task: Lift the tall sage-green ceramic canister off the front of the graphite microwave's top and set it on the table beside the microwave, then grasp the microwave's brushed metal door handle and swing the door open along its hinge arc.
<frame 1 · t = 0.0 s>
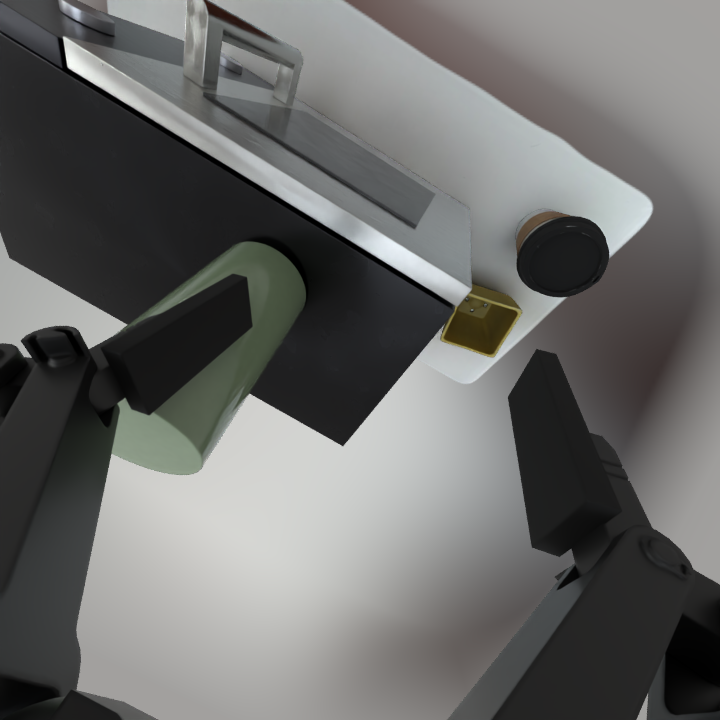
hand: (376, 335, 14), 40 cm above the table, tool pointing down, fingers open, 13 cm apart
coffee cup: (538, 231, 43), on the table
microwave: (322, 213, 50), on the table
canister: (263, 285, 24), point 31 cm above the table, tilted 8°, touching microwave
microwave door: (356, 139, 30), point 15 cm above the table, hinge at 0.0°
flower pot: (477, 301, 51), on the table
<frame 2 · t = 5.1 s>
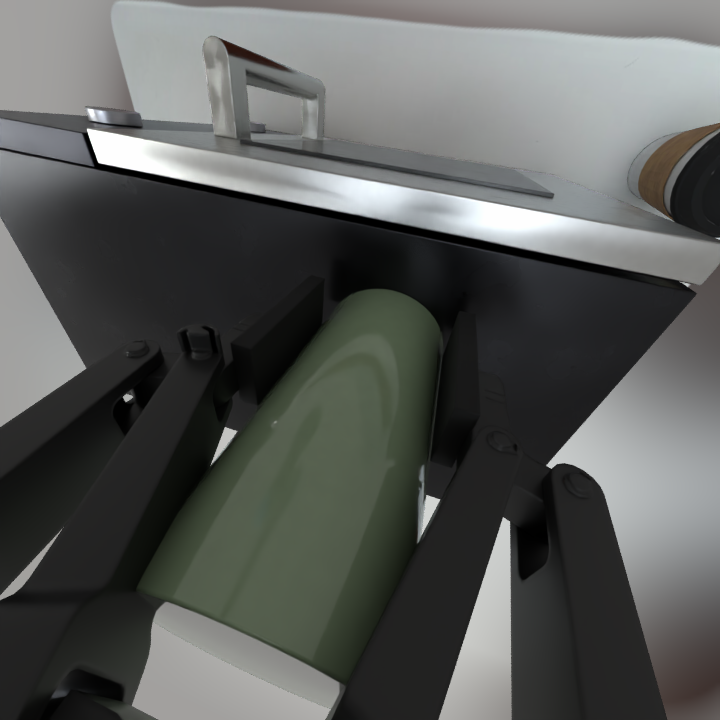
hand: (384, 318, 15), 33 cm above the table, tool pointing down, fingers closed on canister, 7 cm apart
coffee cup: (661, 167, 32), on the table
microwave: (373, 242, 45), on the table
canister: (382, 344, 18), point 31 cm above the table, touching gripper, microwave
microwave door: (413, 135, 24), point 15 cm above the table, hinge at 0.0°
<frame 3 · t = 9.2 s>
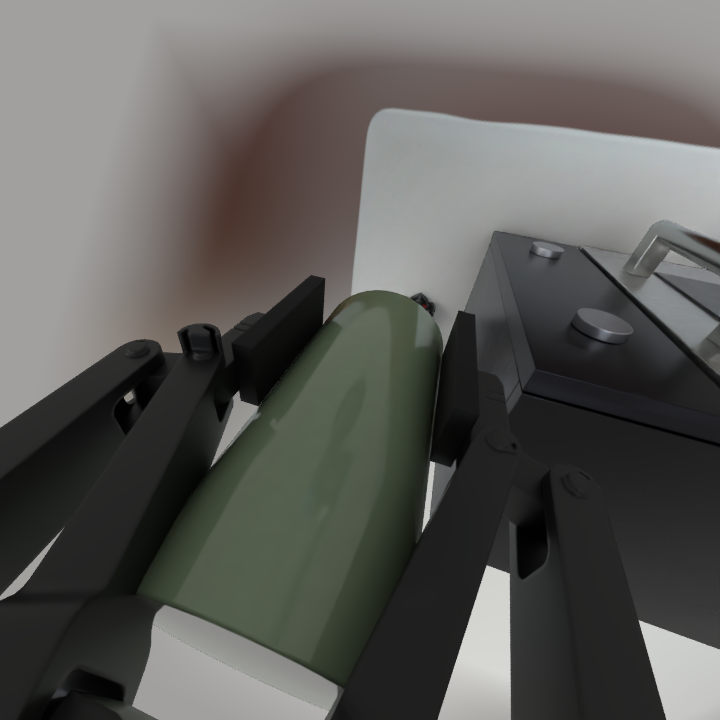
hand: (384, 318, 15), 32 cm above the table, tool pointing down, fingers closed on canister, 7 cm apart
toy car: (413, 324, 51), on the table
microwave: (603, 342, 43), on the table
canister: (382, 345, 18), point 30 cm above the table, touching gripper
when the fingers open (1 cm above the table, at t = 13.8 s): canister stays where it is, on the table.
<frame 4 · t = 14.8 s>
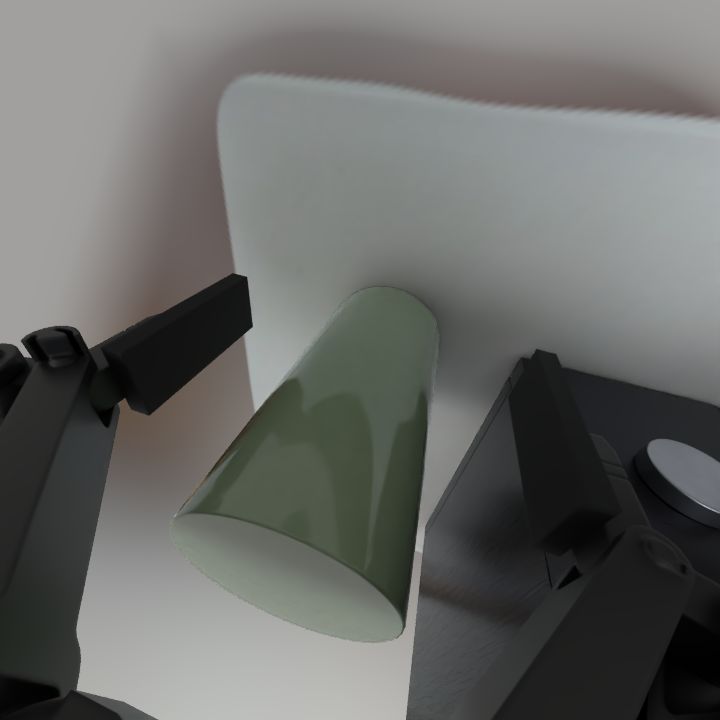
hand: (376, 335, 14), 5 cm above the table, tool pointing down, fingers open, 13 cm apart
canister: (384, 338, 19), on the table
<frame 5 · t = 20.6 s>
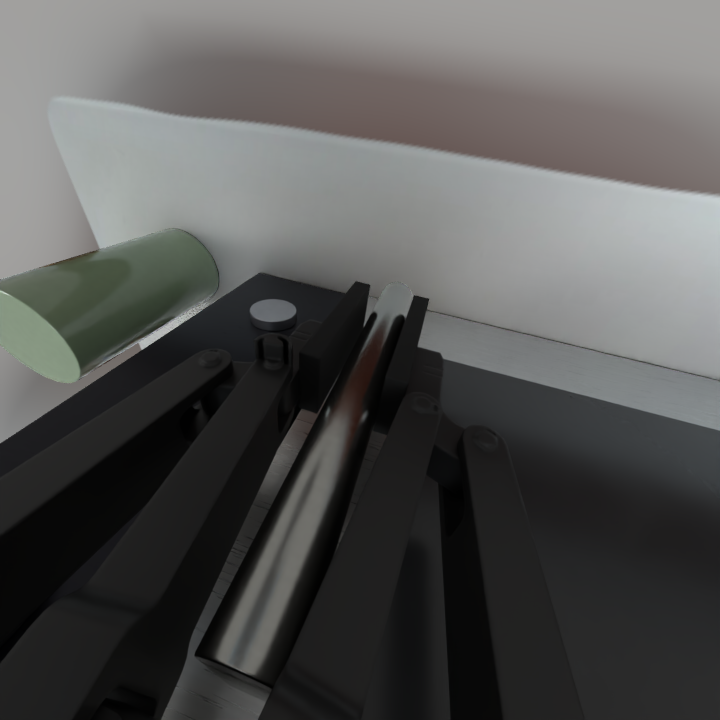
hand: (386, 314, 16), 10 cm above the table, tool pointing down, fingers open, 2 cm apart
microwave: (438, 416, 32), on the table
canister: (186, 266, 30), on the table
microwave door: (656, 513, 11), point 16 cm above the table, hinge at 0.0°, touching gripper
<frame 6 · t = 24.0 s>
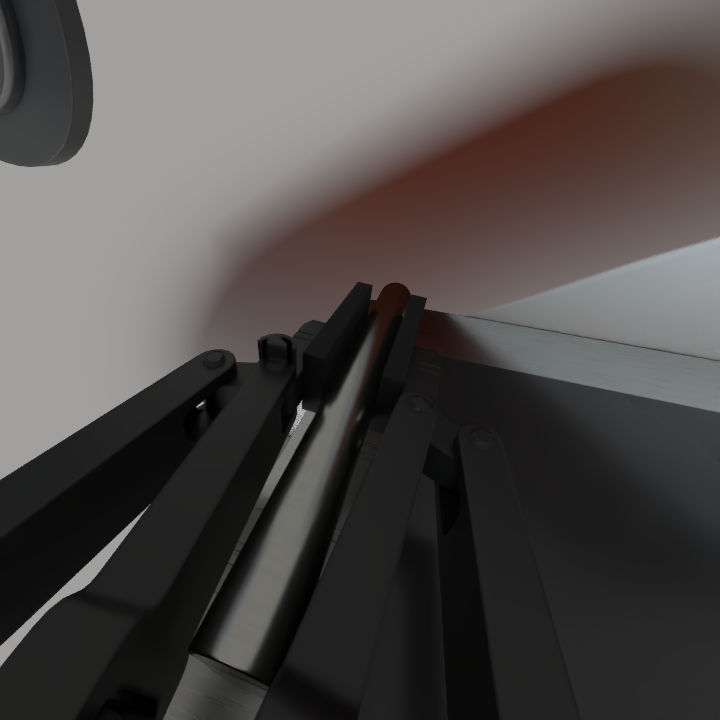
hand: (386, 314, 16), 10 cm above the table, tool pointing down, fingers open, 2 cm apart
microwave door: (672, 505, 11), point 15 cm above the table, hinge at 30.9°, touching gripper
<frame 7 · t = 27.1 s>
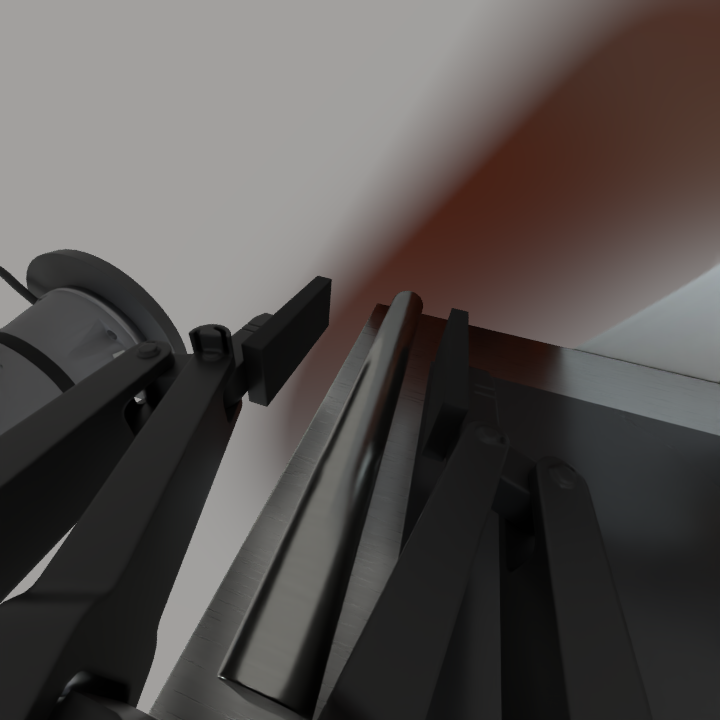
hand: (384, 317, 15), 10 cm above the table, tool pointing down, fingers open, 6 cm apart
microwave door: (676, 529, 11), point 15 cm above the table, hinge at 59.4°
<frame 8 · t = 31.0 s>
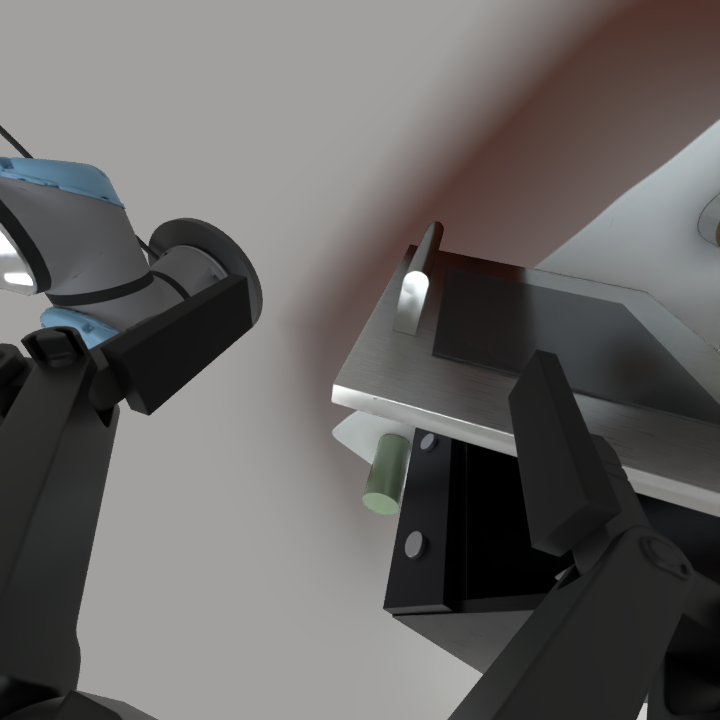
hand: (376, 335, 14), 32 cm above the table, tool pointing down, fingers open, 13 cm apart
microwave: (546, 418, 51), on the table
canister: (394, 445, 67), on the table
microwave door: (554, 305, 26), point 16 cm above the table, hinge at 59.4°
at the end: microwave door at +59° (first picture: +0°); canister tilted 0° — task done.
